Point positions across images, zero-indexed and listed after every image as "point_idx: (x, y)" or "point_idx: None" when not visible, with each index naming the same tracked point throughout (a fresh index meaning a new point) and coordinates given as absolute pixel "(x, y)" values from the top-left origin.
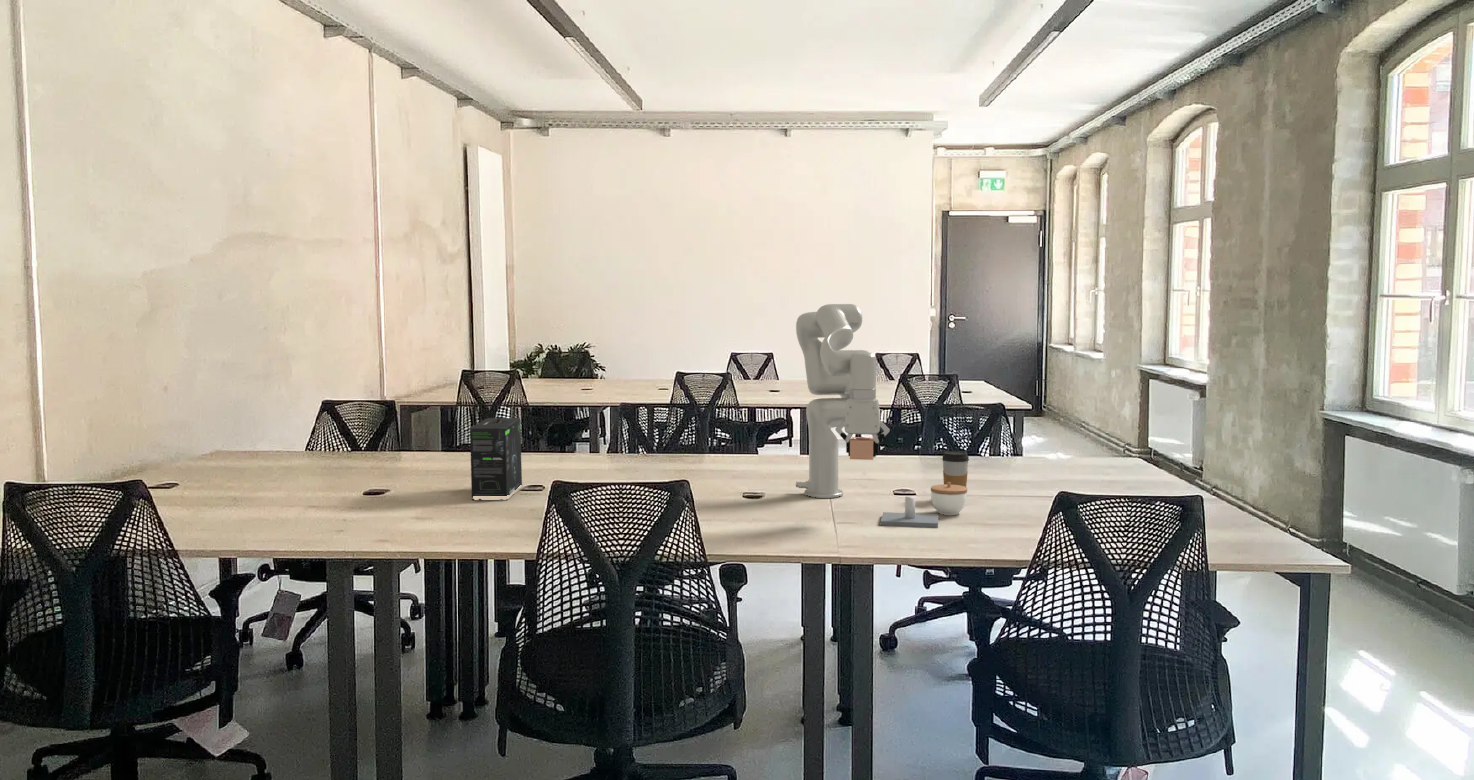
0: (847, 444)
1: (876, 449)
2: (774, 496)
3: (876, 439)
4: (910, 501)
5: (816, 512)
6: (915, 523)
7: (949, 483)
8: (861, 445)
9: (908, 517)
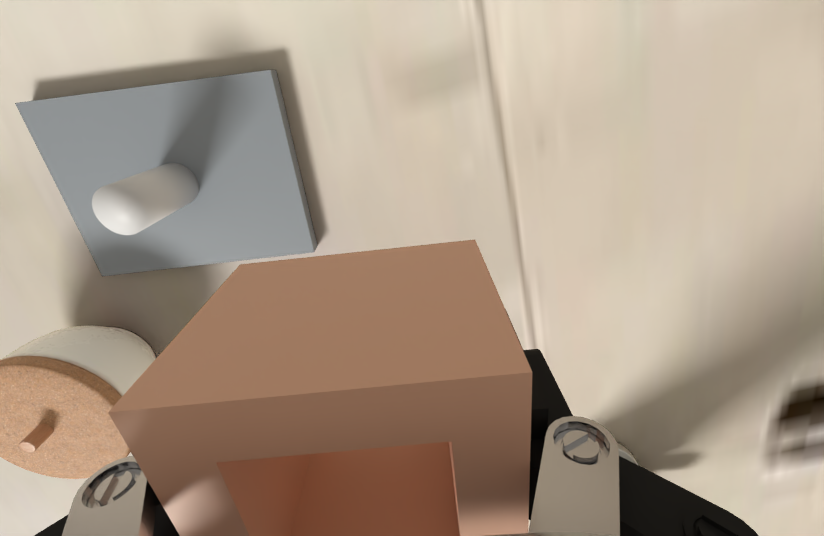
0: (553, 411)
1: None
2: (735, 426)
3: (101, 509)
4: (117, 181)
5: (582, 239)
6: (116, 90)
7: (24, 438)
8: (329, 337)
9: (172, 164)
